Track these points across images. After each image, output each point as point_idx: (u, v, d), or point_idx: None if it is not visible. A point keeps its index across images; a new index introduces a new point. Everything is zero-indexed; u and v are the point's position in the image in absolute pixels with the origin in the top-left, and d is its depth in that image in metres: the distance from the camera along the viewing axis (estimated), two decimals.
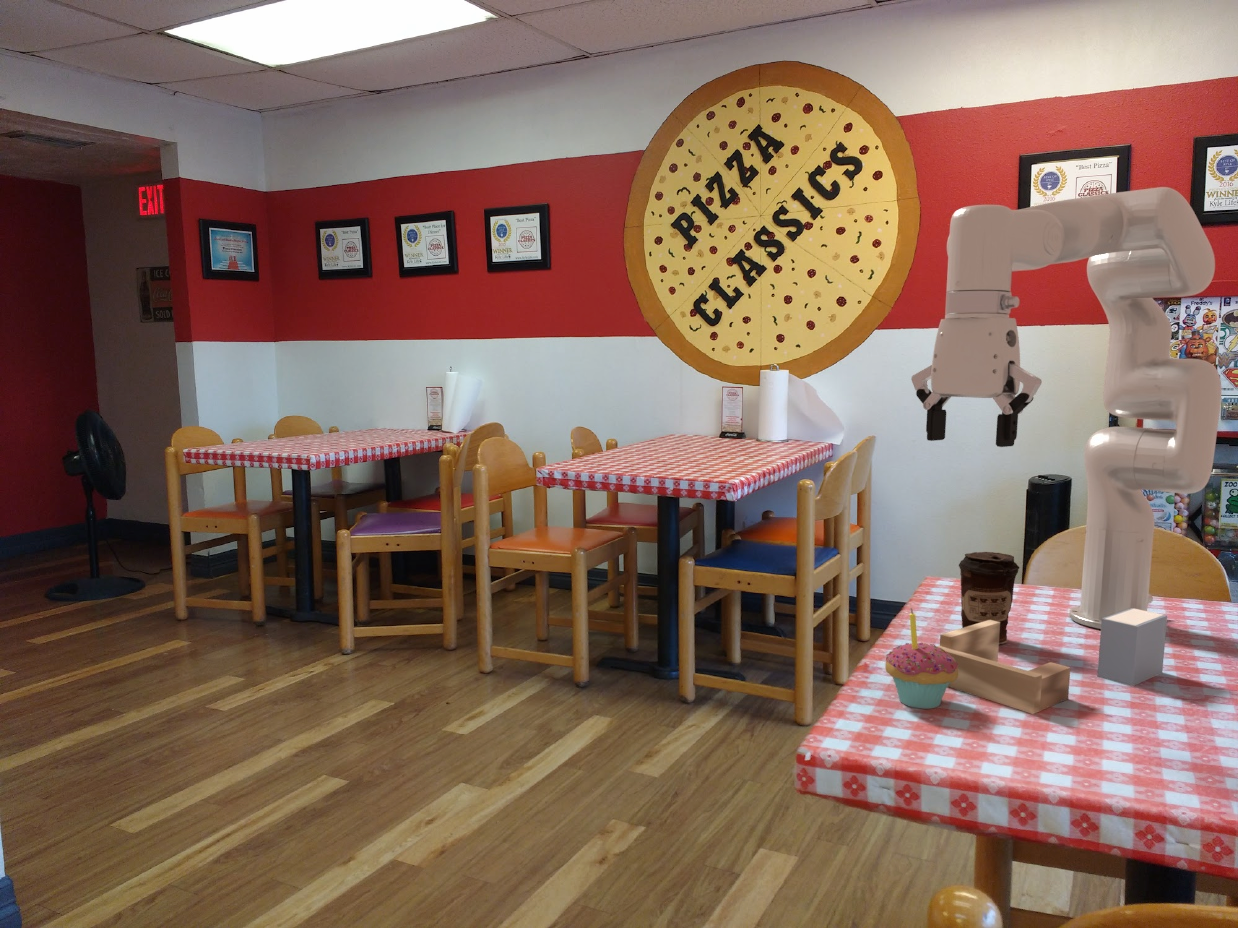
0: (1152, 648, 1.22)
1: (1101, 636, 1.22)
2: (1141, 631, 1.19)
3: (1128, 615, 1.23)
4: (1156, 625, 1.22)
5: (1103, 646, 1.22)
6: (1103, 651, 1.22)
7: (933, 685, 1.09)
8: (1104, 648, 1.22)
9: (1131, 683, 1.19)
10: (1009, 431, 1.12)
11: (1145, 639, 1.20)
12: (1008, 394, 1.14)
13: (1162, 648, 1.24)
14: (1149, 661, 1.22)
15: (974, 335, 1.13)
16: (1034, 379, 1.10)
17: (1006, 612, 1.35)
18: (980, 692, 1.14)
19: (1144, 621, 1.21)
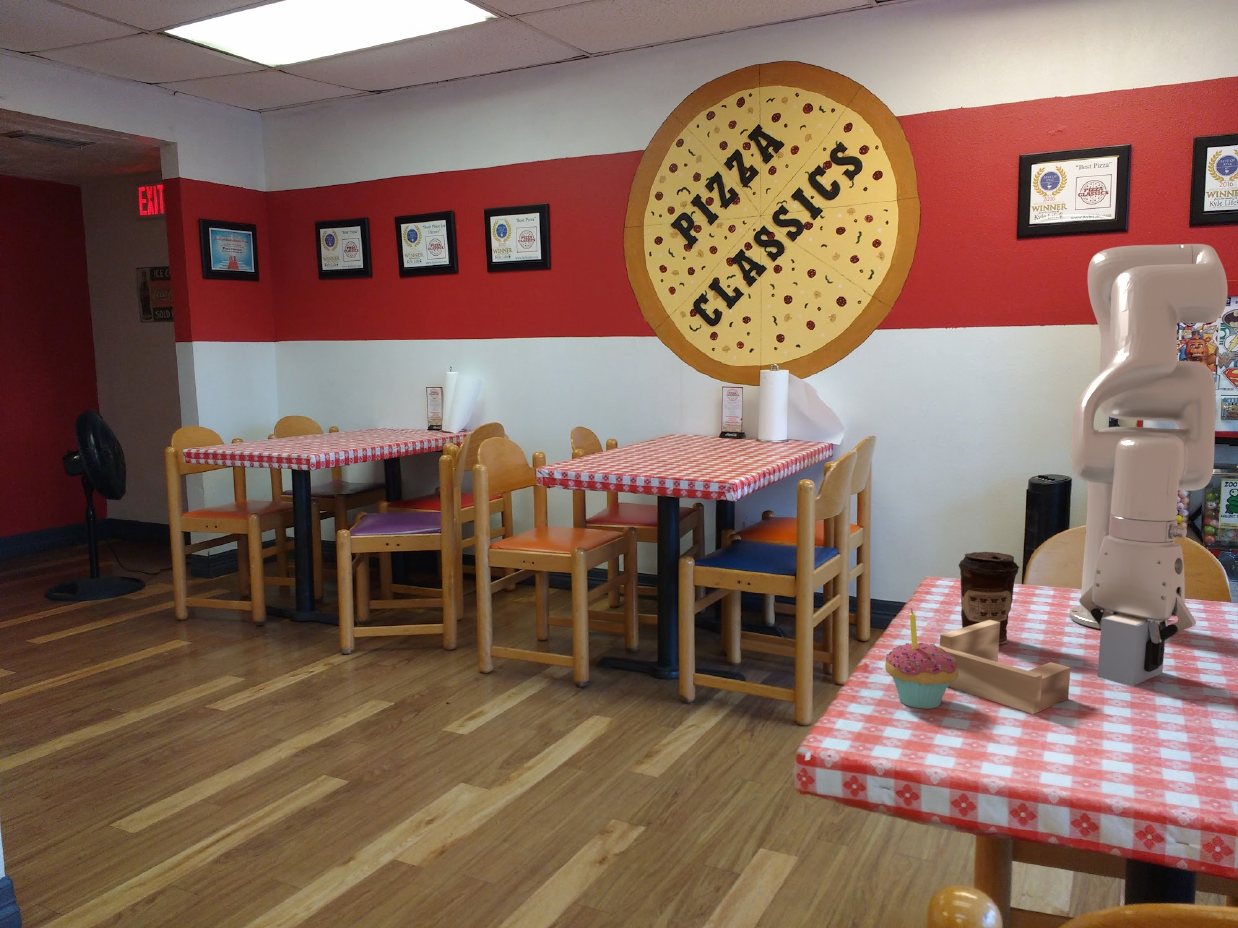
0: None
1: (1101, 636, 1.22)
2: (1141, 631, 1.19)
3: (1128, 615, 1.23)
4: None
5: (1103, 646, 1.22)
6: (1103, 651, 1.22)
7: (933, 685, 1.09)
8: (1104, 647, 1.22)
9: (1131, 683, 1.19)
10: (1157, 658, 1.20)
11: (1145, 639, 1.20)
12: (1162, 620, 1.21)
13: None
14: None
15: (1142, 560, 1.19)
16: (1191, 622, 1.17)
17: (1006, 612, 1.35)
18: (980, 692, 1.14)
19: (1144, 621, 1.21)
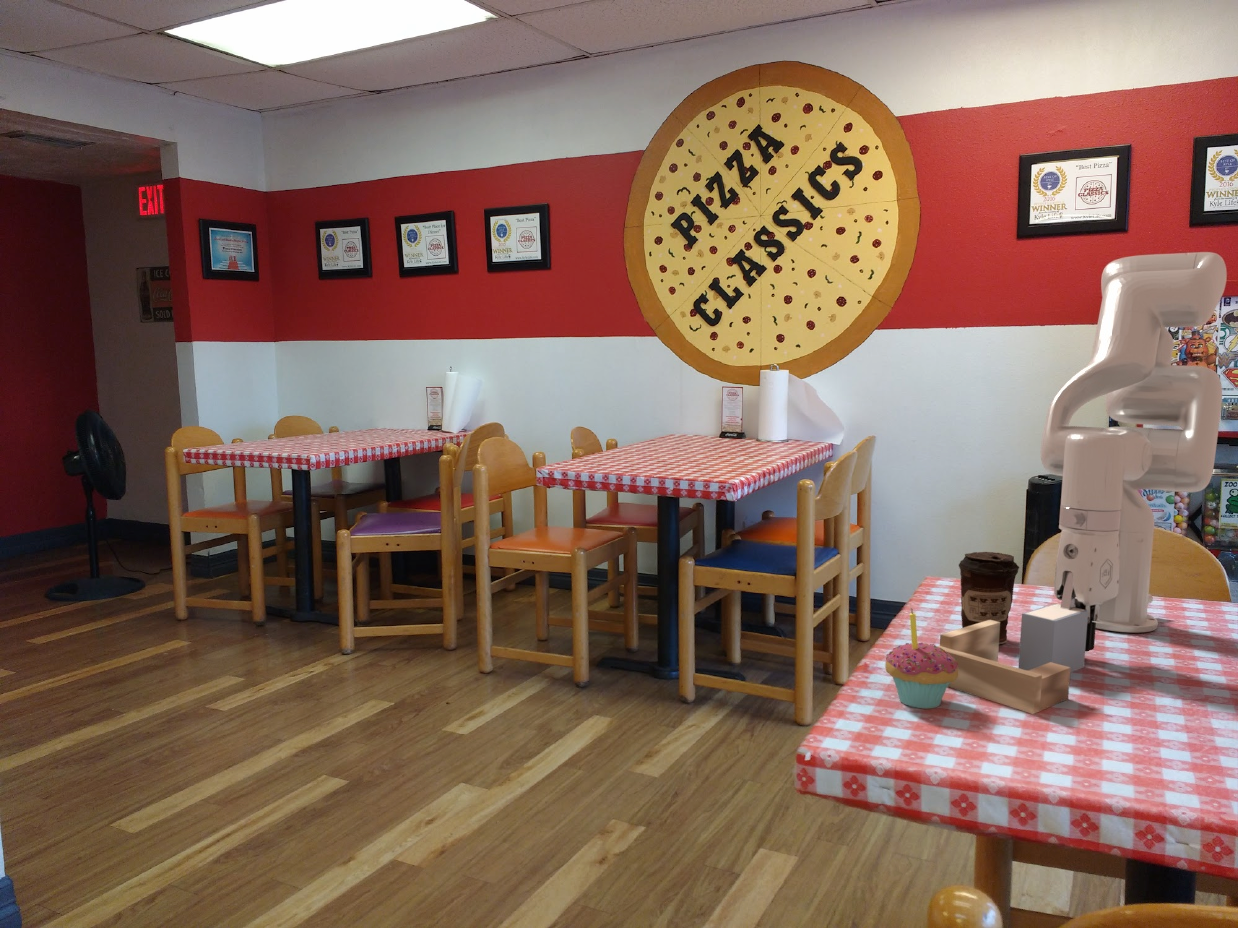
0: (1071, 642, 1.24)
1: (1021, 631, 1.24)
2: (1059, 626, 1.21)
3: (1049, 610, 1.25)
4: (1076, 619, 1.24)
5: (1023, 640, 1.24)
6: (1024, 645, 1.24)
7: (933, 685, 1.09)
8: (1024, 642, 1.24)
9: None
10: None
11: (1063, 633, 1.22)
12: (1080, 605, 1.28)
13: (1083, 643, 1.26)
14: (1069, 655, 1.24)
15: None
16: (1061, 607, 1.27)
17: (1006, 612, 1.35)
18: (980, 692, 1.14)
19: (1063, 616, 1.23)
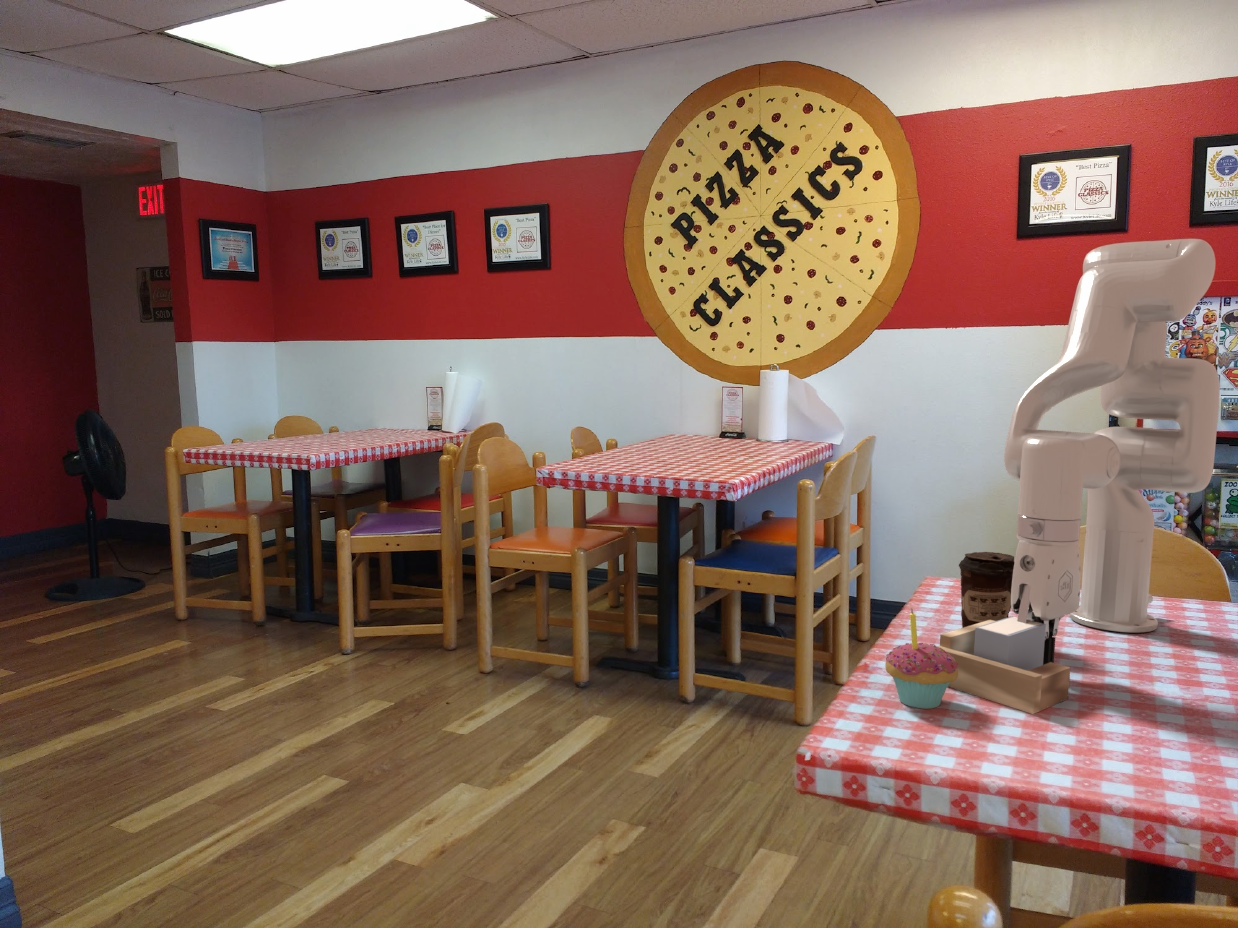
0: (1027, 658, 1.17)
1: (975, 646, 1.17)
2: (1014, 641, 1.14)
3: (1004, 624, 1.18)
4: (1033, 634, 1.17)
5: None
6: None
7: (933, 685, 1.09)
8: None
9: None
10: None
11: (1019, 649, 1.15)
12: None
13: (1041, 658, 1.19)
14: None
15: None
16: None
17: (1006, 612, 1.35)
18: (980, 692, 1.14)
19: (1018, 630, 1.16)
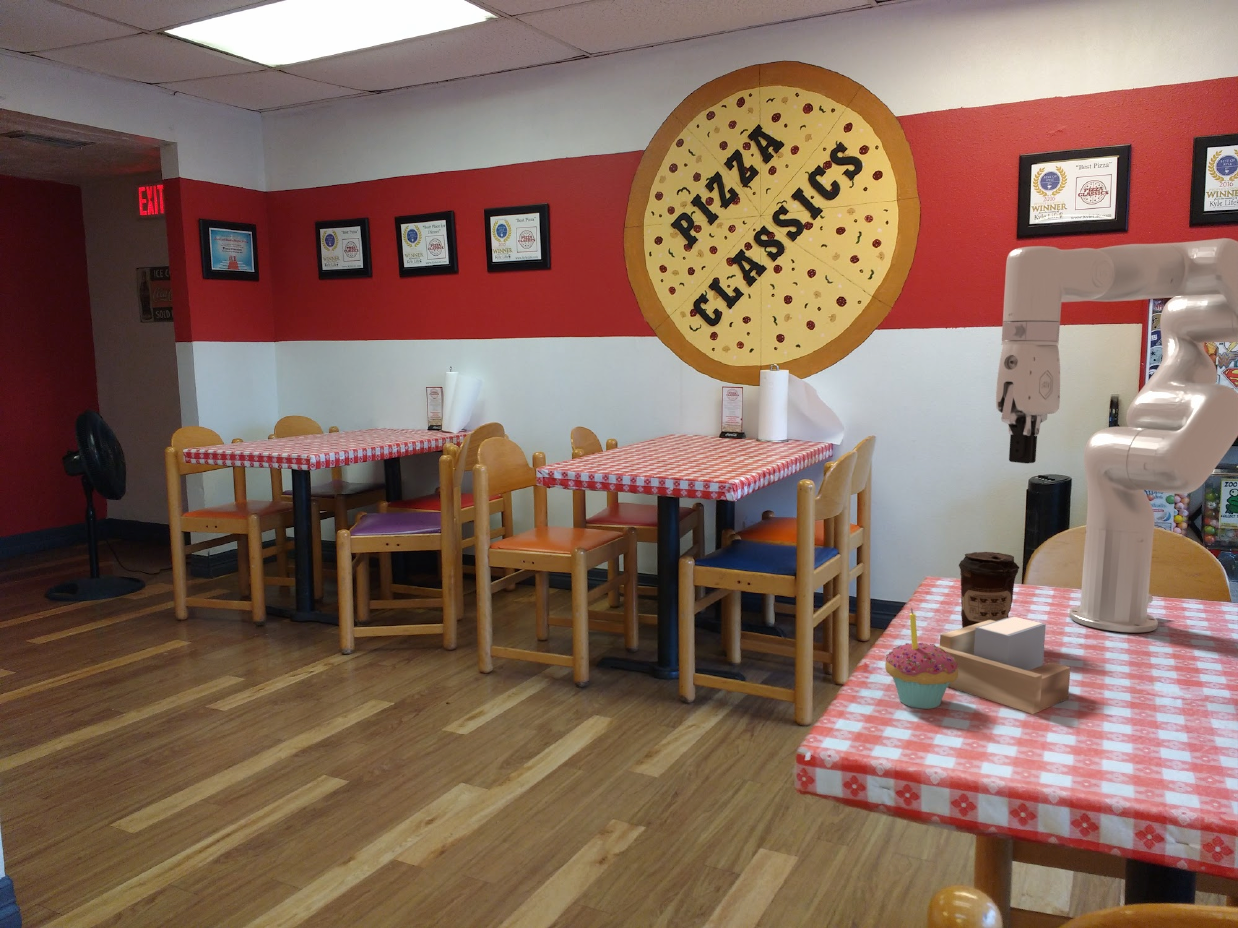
0: (1027, 658, 1.17)
1: (975, 646, 1.17)
2: (1014, 641, 1.14)
3: (1004, 624, 1.18)
4: (1033, 634, 1.17)
5: None
6: None
7: (933, 685, 1.09)
8: None
9: None
10: (1012, 449, 1.33)
11: (1019, 649, 1.15)
12: None
13: (1041, 658, 1.19)
14: None
15: None
16: (1002, 417, 1.30)
17: (1006, 612, 1.35)
18: (980, 692, 1.14)
19: (1018, 630, 1.16)
